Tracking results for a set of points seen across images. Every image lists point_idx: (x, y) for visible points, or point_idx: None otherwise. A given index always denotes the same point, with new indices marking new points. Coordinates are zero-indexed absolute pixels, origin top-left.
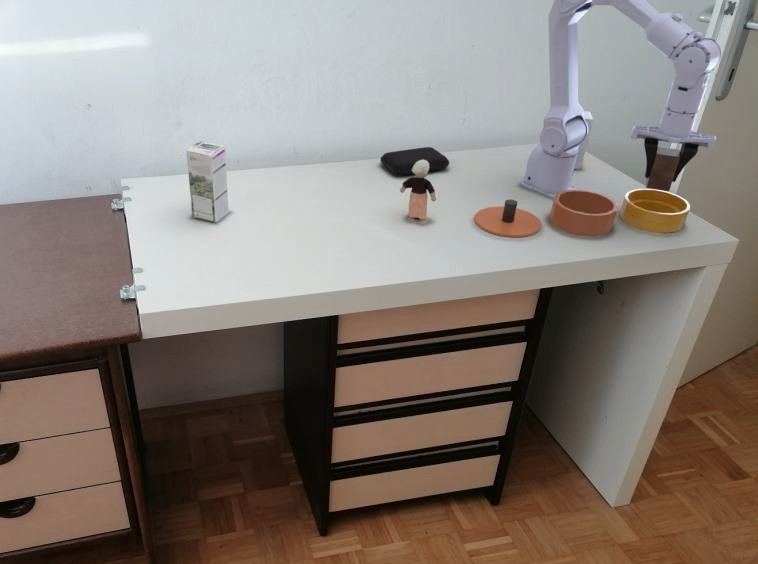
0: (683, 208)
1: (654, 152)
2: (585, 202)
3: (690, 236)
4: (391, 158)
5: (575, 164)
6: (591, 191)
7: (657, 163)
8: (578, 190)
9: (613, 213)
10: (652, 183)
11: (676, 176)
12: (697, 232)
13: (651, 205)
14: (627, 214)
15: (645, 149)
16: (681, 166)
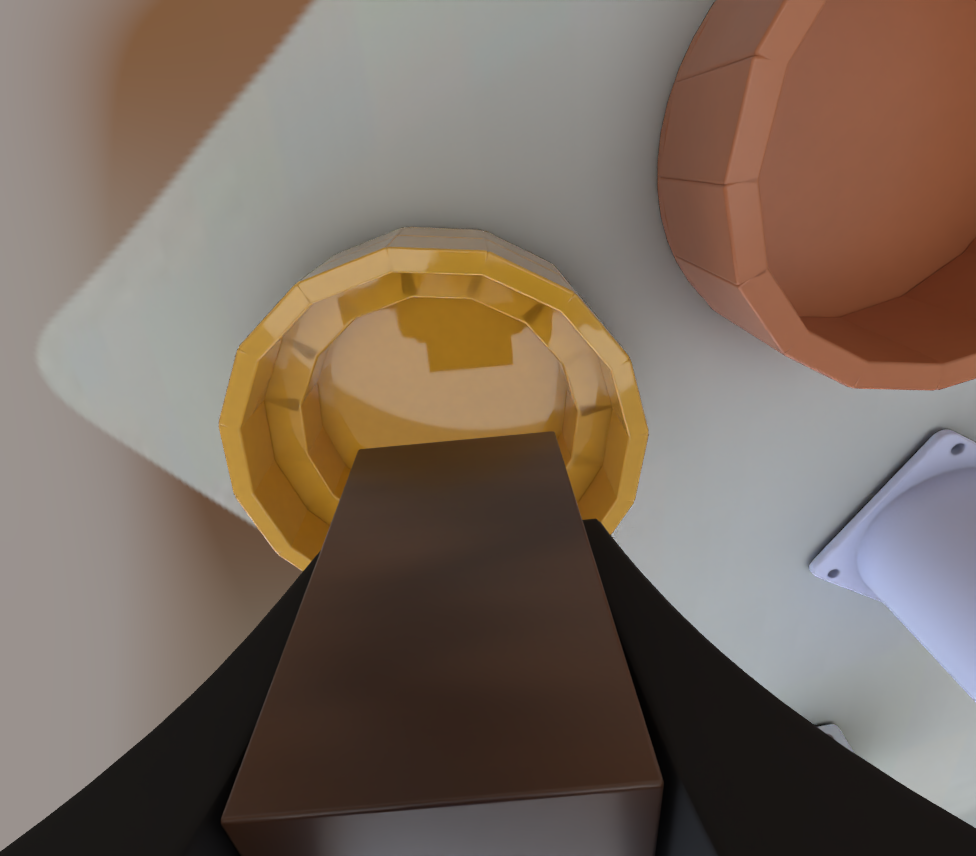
0: (285, 497)
1: (733, 804)
2: (868, 335)
3: (211, 313)
4: None
5: None
6: (898, 384)
7: (564, 631)
8: None
9: (774, 6)
10: (518, 459)
11: (304, 576)
12: (195, 384)
13: None
14: (591, 310)
15: (974, 831)
16: (233, 680)
